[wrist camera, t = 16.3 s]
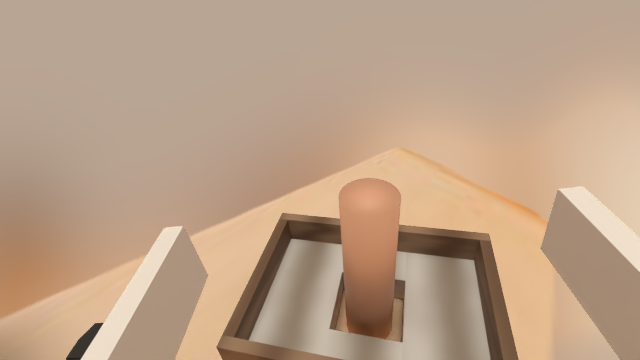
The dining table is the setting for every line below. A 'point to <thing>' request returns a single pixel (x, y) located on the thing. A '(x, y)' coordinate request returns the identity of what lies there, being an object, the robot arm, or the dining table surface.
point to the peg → (369, 253)
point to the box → (410, 285)
